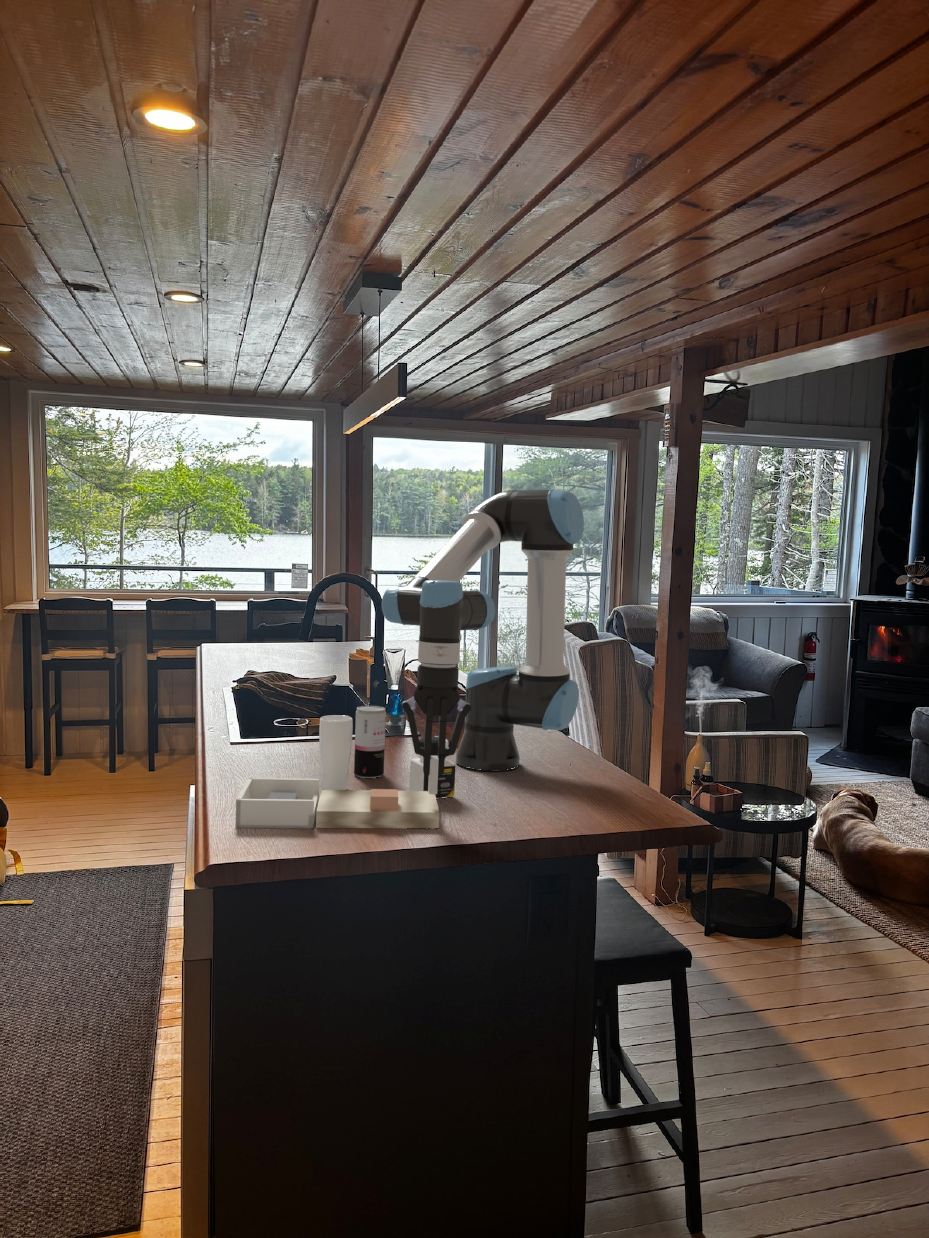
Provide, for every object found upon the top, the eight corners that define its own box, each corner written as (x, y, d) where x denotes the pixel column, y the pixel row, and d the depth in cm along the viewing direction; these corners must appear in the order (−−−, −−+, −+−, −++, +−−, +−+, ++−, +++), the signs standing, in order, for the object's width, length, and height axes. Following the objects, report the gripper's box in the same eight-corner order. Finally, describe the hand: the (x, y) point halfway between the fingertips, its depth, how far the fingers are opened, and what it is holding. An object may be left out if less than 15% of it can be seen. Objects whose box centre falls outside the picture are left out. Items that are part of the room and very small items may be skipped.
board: (433, 806, 172) (434, 791, 172) (438, 828, 158) (439, 812, 158) (321, 804, 170) (321, 789, 170) (315, 827, 156) (316, 811, 156)
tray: (318, 804, 171) (319, 778, 170) (312, 828, 156) (313, 800, 155) (247, 803, 169) (248, 777, 169) (235, 827, 154) (236, 799, 154)
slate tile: (270, 791, 167) (270, 804, 167) (267, 799, 162) (267, 812, 162) (297, 792, 167) (296, 805, 168) (294, 799, 162) (294, 812, 163)
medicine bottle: (423, 801, 176) (425, 742, 175) (408, 792, 182) (410, 735, 181) (454, 798, 179) (457, 740, 178) (439, 789, 185) (441, 733, 184)
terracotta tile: (397, 802, 163) (397, 789, 163) (397, 810, 159) (398, 796, 158) (370, 802, 163) (370, 788, 163) (370, 810, 158) (370, 796, 158)
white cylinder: (356, 787, 183) (358, 716, 182) (341, 795, 177) (343, 722, 176) (327, 783, 186) (329, 713, 184) (311, 791, 179) (313, 719, 178)
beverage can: (347, 774, 194) (349, 707, 193) (370, 770, 199) (372, 704, 197) (367, 780, 189) (369, 712, 188) (389, 775, 194) (392, 709, 193)
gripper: (403, 666, 155) (397, 796, 157) (476, 668, 157) (469, 798, 158) (402, 661, 163) (396, 786, 164) (471, 663, 164) (465, 787, 166)
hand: (432, 791), depth 161 cm, fingers closed
